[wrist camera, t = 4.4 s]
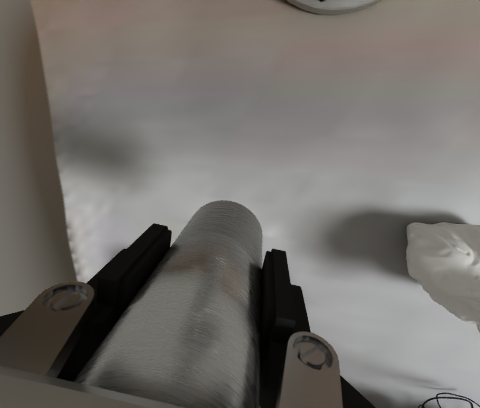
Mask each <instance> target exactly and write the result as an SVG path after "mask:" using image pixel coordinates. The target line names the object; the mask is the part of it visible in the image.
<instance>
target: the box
mask: <svg viewBox="0 0 480 408" xmlns="http://www.w3.org/2000/svg"><path fill="white" fill-rule="evenodd" d="M440 394H451V393H439V394H437V395H436V398H432V399H429V400H427V401H426V402H425V403H427V402H428V401H430V400H433V399H437V402H438V398H449V397H437V396H438V395H440ZM451 395H455V394H451ZM455 396H459V395H455ZM459 397H463V396H459ZM463 398H466V397H463ZM449 399H460V398H449ZM466 399H469V398H466ZM461 400H465V399H461ZM469 400H470V401H472V400H471V399H469ZM465 401H468V400H465ZM470 401H468V402H470ZM472 402H474V401H472ZM425 403H424V404H425ZM470 403H471V402H470ZM474 403H475V402H474ZM424 404H423V405H419V407H420V406H422V408H423V407H424ZM471 404H472V403H471ZM475 404H477V403H475ZM438 405H439V402H438ZM477 405H478V404H477ZM478 406H479V405H478ZM419 407H418V408H419ZM439 407H440V405H439ZM479 407H480V406H479ZM424 408H425V407H424ZM440 408H441V407H440ZM472 408H473V404H472Z"/></svg>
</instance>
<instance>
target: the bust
mask: <svg viewBox="0 0 480 408" xmlns="http://www.w3.org/2000/svg"><path fill="white" fill-rule="evenodd" d="M407 239H408V246H407V249H406V254H407V256H406V260H407V267H408V273H409V275H410V276H411V277H412V278H414V279H416V280H418V281H419V282H420V284H421V285H422V287H423V289H424V290H425V291H426V292H427V293H429V295H430V297H431V298H432V299H433V300H434V301H435V302H437V303H438V304H440V305H442V306H443V307H445V308H446V309H447V310H448V311H449V312H451V313H452V314H454V315H455V316H456V317H458V318H460V319H461V320H463V321H466V322H469V323H474V324H477V325H476V326H477V328H478V330H479V332H480V225H468V224H453V223H447V222H441V223H437V224H424V223H411V224H409V225H408V226H407Z"/></svg>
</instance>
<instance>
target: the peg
mask: <svg viewBox="0 0 480 408" xmlns="http://www.w3.org/2000/svg"><path fill="white" fill-rule="evenodd" d="M261 281H262V229H261V226H260V223H259V221H258V219H257V218H256V216H255V215H254V214H253V213H252V212H251V211H250V210H249V209H247V208H246V207H244V206H243V205H241V204H238V203H236V202H232V201H223V200H221V201H214V202H211V203H208V204H206V205H204V206H203V207H201V208H200V209H199V210H198V211H197V212H196V213H195V214H194V215H193V217H192V218H191V220H190V221H189V222H188V224H187V225H186V226H185V228H184V229H183V231H182V232H181V233H180V235H179V236H178V238H177V239H176V240H175V242H174V243H173V245H172V246H171V247H170V249H169V250H168V251H167V253H166V254H165V256H164V257H163V258H162V260H161V261H160V263H159V264H158V265H157V267H156V268H155V269H154V271H153V272H152V274H151V275H150V276H149V278H148V279H147V281H146V282H145V283H144V285H143V286H142V288H141V289H140V290H139V292H138V293H137V294H136V296H135V297H134V299H133V300H132V301H131V303H130V304H129V306H128V307H127V308H126V310H125V311H124V313H123V314H122V315H121V317H120V318H119V319H118V321H117V322H116V324H115V325H114V326H113V328H112V329H111V331H110V332H109V333H108V335H107V336H106V337H105V339H104V340H103V342H102V343H101V344H100V346H99V347H98V349H97V350H96V351H95V353H94V354H93V356H92V357H91V358H90V360H89V361H88V362H87V364H86V365H85V367H84V368H83V369H82V371H81V372H80V374H79V375H78V376H77V378H76V379H75V380H74V382H76V383H80V384H84V385H89V386H93V387H98V388H102V389H107V390H111V391H115V392H120V393H124V394H128V395H133V396H137V397H142V398H146V399H150V400H155V401H159V402H163V403H168V404H172V405H176V406H181V407H185V408H259V378H260V329H261Z"/></svg>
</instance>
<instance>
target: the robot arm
mask: <svg viewBox="0 0 480 408" xmlns="http://www.w3.org/2000/svg"><path fill="white" fill-rule="evenodd" d="M287 1H288V2H289V3H291V4H293V5H295V6H297V7H299V8H301V9H303V10H305V11H309V12H313V13H317V14H323V15H340V14H346V13H351V12H356V11H359V10H361V9H364V8H366V7H369V6H371V5H374V4H375V3H377V2H379V1H380V0H324V1H323V2H320V1H318V0H287ZM171 234H172V232H171V230H168V227H167V226H164V225H159V224H152V225H151V226H150V227H149V228H148V229H147V230H146V231H145V232H144V233H143V234H142V235H141V236H140V237H139V238H138V239H137V240H136V241H135V242H134V243H133V244H132V245H131V246H130V247H128V248H127V249H123V250H122V251H120V252H119V253H118V254H117V255H116V256H115V257H114V258H113V259H112V260H111V261H110V262H109V263H108V264H106V265H105V266H104V267H103V268H102V269H101V270H100V271H99V272H98V273H97V274H96V275H95V276H94V277H93V278H91V279H90V280H89V281H88V282H87V283H83V282H65V283H60V284H57V285H54V286H52V287H50V288H48V289H46V290H44V291H43V292H42V293H41V294H39V296H38V297H37V298H36V299H35V300H34V301H33V302H32V303H31V304H30V305H29V307H28V308H27V309H26V310H23V311H20V312H16V313H12V314H8V315H4V316H0V408H185V407H181V406H176V405H172V404H168V403H163V402H159V401H155V400H150V399H146V398H142V397H137V396H133V395H128V394H124V393H120V392H115V391H111V390H107V389H102V388H98V387H93V386H89V385H84V384H80V383H76V382H74V380H75V379H76V378H77V376H78V375H79V374H80V372H81V371H82V369H83V368H84V367H85V365H86V364H87V362H88V361H89V360H90V358H91V357H92V356H93V354H94V353H95V351H96V350H97V349H98V347H99V346H100V344H101V343H102V342H103V340H104V339H105V337H106V336H107V335H108V333H109V332H110V331H111V329H112V328H113V326H114V325H115V324H116V322H117V321H118V319H119V318H120V317H121V315H122V314H123V313H124V311H125V310H126V308H127V307H128V306H129V304H130V303H131V301H132V300H133V299H134V297H135V296H136V294H137V293H138V292H139V290H140V289H141V288H142V286H143V285H144V283H145V282H146V281H147V279H148V278H149V276H150V275H151V274H152V272H153V271H154V269H155V268H156V267H157V265H158V264H159V263H160V261H161V260H162V258H163V257H164V256H165V254H166V253H167V251H168V250H169V249H170V243H171ZM259 406H260V407H261V408H375V407H374V406H373V405H372V404H371V403H370V402H369V401H368V400H367V399H366V398H365V397H363V396H362V395H361V394H360V393H359V392H358V391H357V390H356V389H355V388H354V387H353V386H351V385H350V384H349V383H348V382H347V381H346V380H345V379H344V378H343V377H342V376H340V370H339V361H338V357H337V354H336V352H335V350H334V349H333V347H332V346H331V345H330V344H329V343H328V342H327V341H326V340H324V339H323V338H322V337H320V336H318V335H316V334H314V333H311V331H310V327H309V322H308V317H307V312H306V308H305V303H304V298H303V294H302V289H301V287H300V286H296V285H291V283H290V277H289V270H288V264H287V257H286V252H285V251H281V250H276V249H272V250H271V252H269V251H267V252H266V255H265V259H264V263H263V267H262V281H261V329H260V378H259Z"/></svg>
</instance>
